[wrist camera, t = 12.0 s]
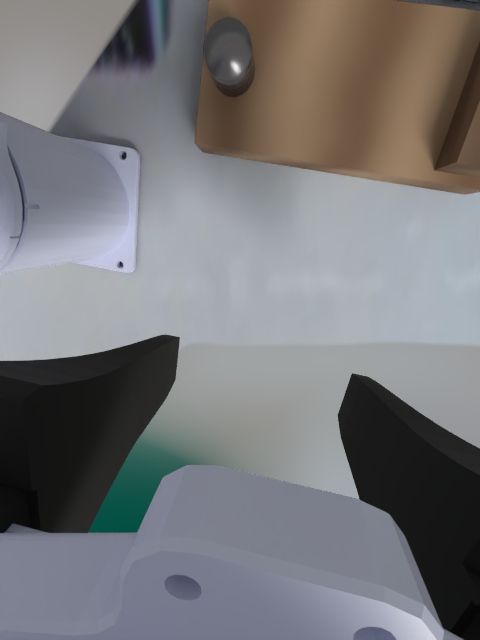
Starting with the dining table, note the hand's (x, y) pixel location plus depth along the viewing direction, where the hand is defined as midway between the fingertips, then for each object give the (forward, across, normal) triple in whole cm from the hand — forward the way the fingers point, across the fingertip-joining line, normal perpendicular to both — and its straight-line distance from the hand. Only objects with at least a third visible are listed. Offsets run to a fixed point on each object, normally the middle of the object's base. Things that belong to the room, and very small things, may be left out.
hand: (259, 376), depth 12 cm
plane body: (+9, -2, -13) cm, 16 cm away
